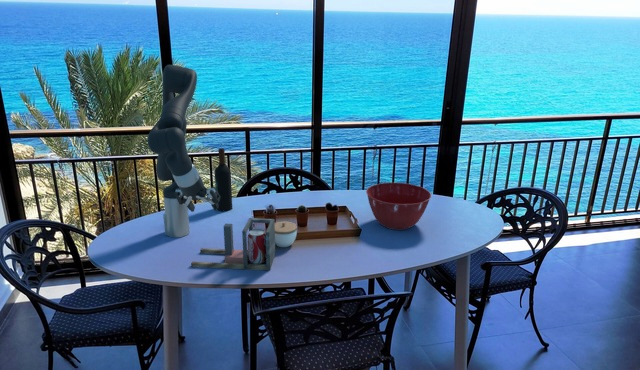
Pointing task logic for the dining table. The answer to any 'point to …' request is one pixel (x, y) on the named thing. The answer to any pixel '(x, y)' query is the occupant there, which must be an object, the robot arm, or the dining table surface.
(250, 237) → the soda can
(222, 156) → the wine bottle
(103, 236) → the dining table surface
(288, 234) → the lidded jar
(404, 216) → the mixing bowl
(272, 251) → the grey bar frame
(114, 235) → the dining table surface
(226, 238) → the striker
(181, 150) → the robot arm
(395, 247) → the dining table surface
